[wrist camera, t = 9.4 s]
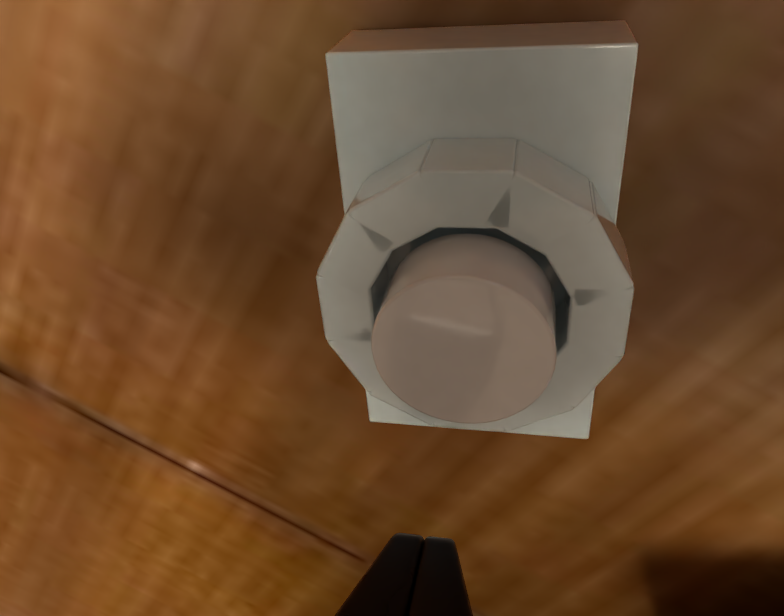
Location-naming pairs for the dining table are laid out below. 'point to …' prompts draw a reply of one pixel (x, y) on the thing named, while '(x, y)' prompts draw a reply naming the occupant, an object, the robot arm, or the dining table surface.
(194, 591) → the dining table surface
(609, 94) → the control knob block
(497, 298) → the flush button
